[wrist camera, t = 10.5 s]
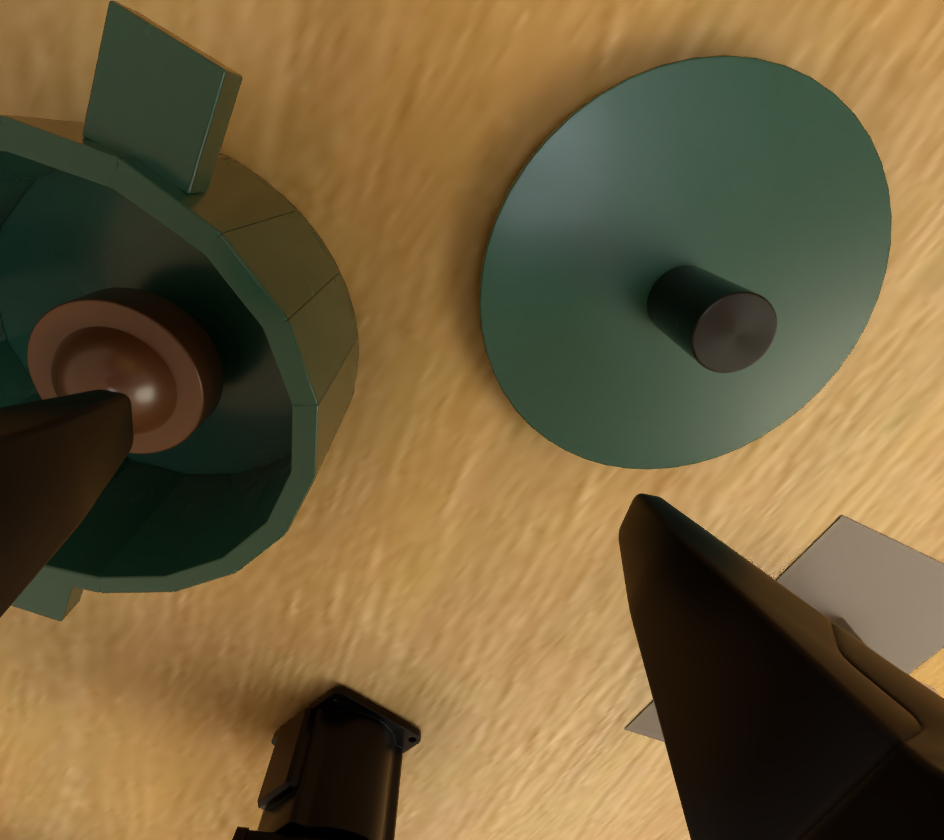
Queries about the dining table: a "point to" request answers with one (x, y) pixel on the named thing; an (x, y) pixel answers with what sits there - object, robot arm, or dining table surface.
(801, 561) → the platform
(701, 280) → the lid
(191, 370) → the mushroom
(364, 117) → the dining table surface
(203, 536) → the pot
